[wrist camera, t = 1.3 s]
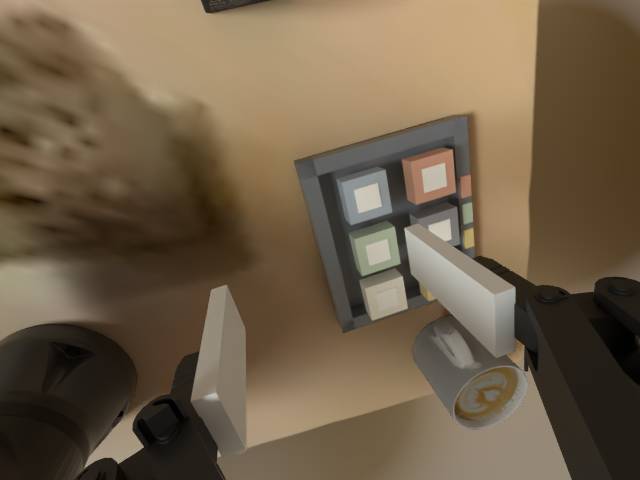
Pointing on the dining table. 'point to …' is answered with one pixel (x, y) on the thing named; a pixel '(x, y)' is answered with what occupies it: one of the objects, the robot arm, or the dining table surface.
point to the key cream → (384, 294)
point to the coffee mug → (468, 375)
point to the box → (225, 4)
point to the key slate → (364, 195)
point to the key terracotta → (429, 175)
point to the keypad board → (335, 229)
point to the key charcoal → (439, 221)
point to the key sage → (375, 248)
